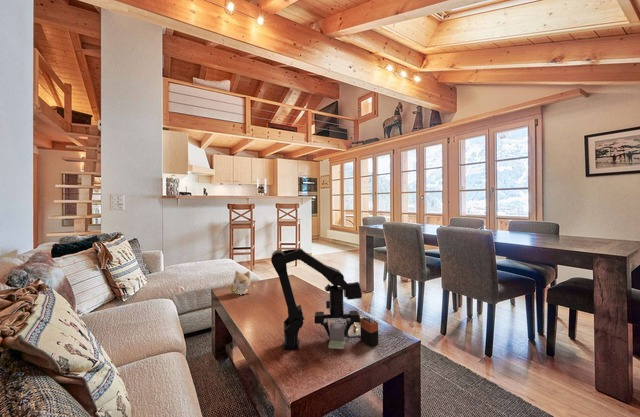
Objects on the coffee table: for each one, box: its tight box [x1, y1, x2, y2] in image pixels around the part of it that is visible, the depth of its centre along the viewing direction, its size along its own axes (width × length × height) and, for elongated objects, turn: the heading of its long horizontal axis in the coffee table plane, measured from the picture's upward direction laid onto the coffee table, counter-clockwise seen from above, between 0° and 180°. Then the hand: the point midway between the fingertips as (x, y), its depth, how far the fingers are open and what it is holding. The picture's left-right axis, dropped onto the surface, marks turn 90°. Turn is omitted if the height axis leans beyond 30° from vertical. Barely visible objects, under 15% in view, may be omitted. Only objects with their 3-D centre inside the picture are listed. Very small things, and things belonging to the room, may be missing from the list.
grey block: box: [327, 323, 346, 350], centre depth 112 cm, size 12×6×6 cm, turn 170°
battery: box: [360, 315, 379, 347], centre depth 110 cm, size 4×7×10 cm, turn 28°
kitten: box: [230, 270, 256, 296], centre depth 172 cm, size 15×10×15 cm
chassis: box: [347, 316, 363, 338], centre depth 122 cm, size 14×10×4 cm
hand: (337, 337), depth 112 cm, fingers closed on grey block, 6 cm apart
